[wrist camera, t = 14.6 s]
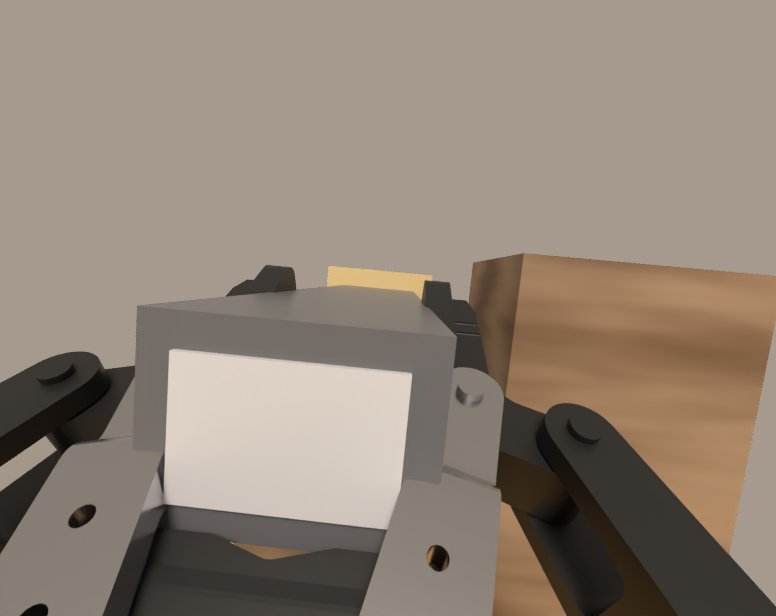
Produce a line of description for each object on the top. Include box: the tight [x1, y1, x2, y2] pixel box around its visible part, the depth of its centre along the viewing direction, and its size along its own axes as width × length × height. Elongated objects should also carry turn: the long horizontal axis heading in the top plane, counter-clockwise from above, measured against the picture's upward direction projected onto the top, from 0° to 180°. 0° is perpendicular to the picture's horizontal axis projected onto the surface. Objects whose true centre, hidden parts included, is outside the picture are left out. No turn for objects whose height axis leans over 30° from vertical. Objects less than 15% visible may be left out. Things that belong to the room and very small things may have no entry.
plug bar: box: [133, 266, 457, 566], centre depth 15 cm, size 22×6×4 cm, turn 177°
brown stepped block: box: [234, 253, 776, 616], centre depth 20 cm, size 10×21×32 cm, turn 87°
